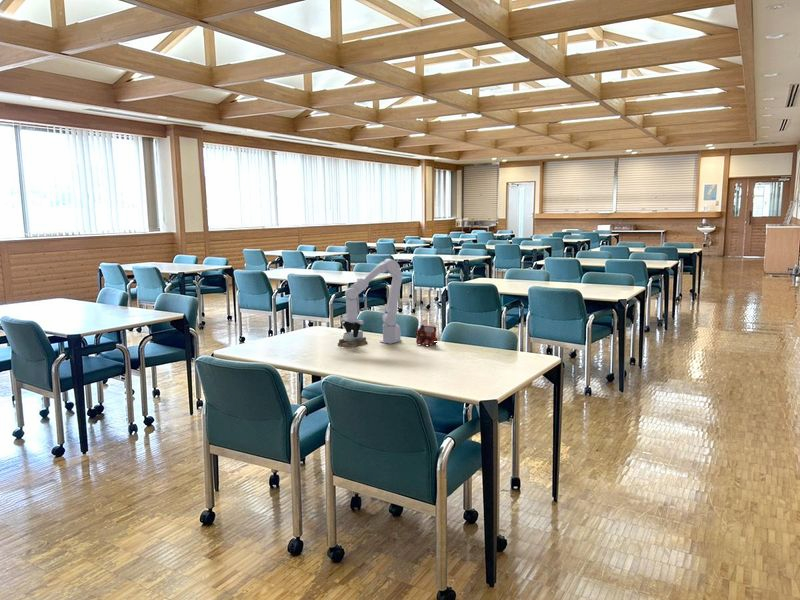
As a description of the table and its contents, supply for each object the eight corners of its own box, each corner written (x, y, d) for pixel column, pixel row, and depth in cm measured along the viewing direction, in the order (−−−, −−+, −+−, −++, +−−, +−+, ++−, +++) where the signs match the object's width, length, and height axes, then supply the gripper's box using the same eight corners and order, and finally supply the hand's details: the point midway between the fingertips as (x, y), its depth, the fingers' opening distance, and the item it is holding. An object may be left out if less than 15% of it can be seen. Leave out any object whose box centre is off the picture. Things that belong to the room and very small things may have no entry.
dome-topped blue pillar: (357, 337, 315) (357, 330, 314) (362, 338, 312) (362, 330, 312) (341, 341, 306) (341, 333, 305) (346, 342, 303) (346, 334, 303)
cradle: (353, 341, 317) (353, 335, 317) (367, 343, 311) (367, 337, 311) (337, 345, 308) (337, 339, 308) (351, 347, 302) (351, 341, 301)
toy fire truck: (421, 342, 313) (421, 322, 311) (440, 345, 305) (440, 325, 303) (413, 344, 308) (412, 324, 306) (431, 347, 299) (431, 327, 298)
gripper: (336, 310, 309) (337, 336, 311) (356, 313, 299) (357, 339, 301) (345, 308, 314) (346, 333, 316) (365, 311, 305) (366, 337, 307)
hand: (352, 336), depth 309 cm, fingers closed on dome-topped blue pillar, 4 cm apart
